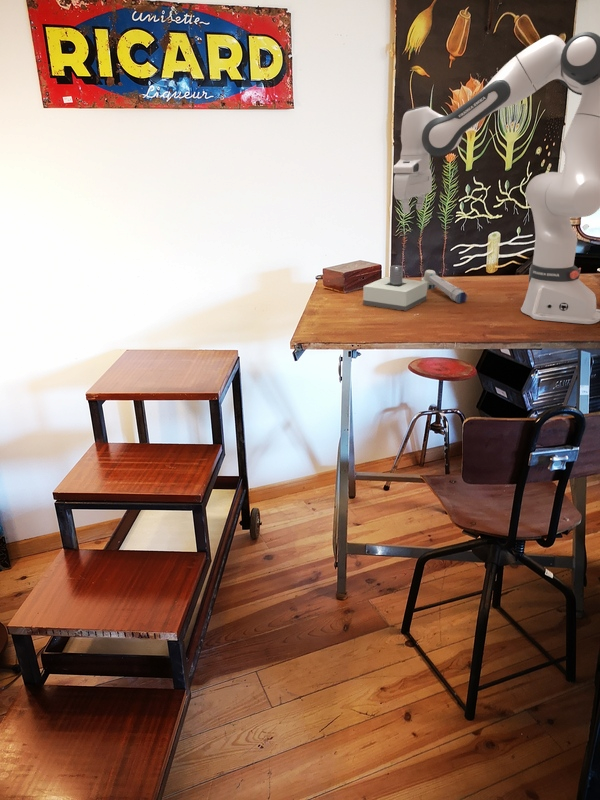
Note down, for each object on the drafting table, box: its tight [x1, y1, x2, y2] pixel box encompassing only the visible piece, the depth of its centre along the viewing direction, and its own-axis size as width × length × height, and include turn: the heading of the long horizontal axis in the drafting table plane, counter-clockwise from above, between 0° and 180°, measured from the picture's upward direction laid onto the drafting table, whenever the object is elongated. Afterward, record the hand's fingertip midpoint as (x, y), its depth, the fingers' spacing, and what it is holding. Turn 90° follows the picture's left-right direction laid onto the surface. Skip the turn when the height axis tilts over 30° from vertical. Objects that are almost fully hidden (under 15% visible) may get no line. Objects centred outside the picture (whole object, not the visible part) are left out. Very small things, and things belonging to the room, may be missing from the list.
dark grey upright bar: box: [389, 264, 404, 287], centre depth 192 cm, size 4×4×10 cm
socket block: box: [362, 276, 428, 312], centre depth 193 cm, size 15×15×6 cm
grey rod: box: [420, 269, 468, 304], centre depth 201 cm, size 5×7×25 cm
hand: (413, 211), depth 191 cm, fingers open, 8 cm apart
